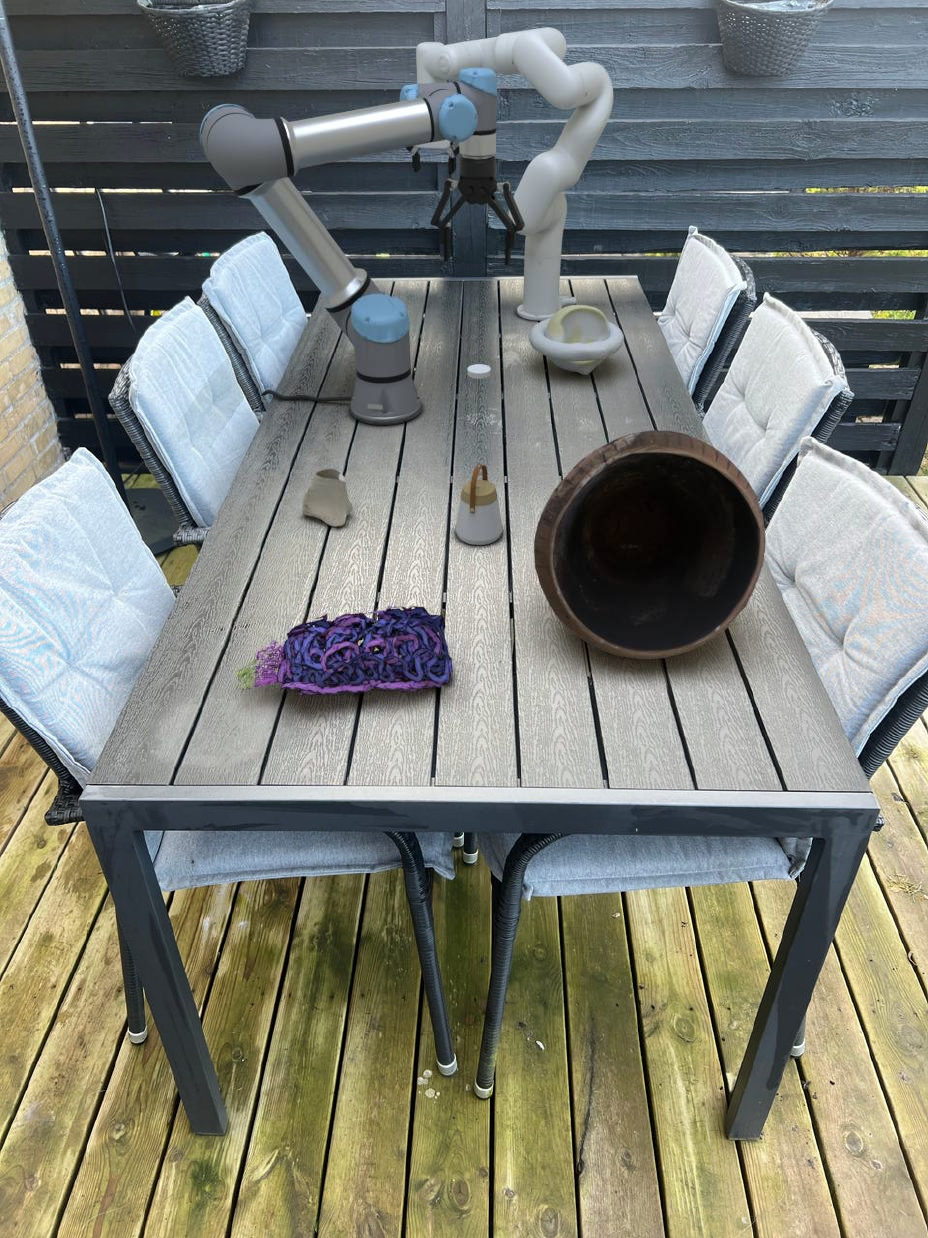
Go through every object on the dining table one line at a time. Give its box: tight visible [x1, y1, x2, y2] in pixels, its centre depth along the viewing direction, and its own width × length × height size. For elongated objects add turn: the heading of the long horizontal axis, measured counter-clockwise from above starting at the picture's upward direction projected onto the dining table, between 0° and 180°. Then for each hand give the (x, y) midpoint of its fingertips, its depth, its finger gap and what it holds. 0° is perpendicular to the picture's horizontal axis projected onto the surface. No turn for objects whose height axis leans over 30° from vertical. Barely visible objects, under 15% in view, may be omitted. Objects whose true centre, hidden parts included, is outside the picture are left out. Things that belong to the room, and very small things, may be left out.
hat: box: [528, 304, 625, 376], centre depth 215 cm, size 25×22×15 cm
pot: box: [533, 429, 767, 660], centre depth 139 cm, size 32×32×30 cm
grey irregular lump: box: [301, 468, 353, 528], centre depth 164 cm, size 9×8×10 cm
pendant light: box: [455, 363, 503, 546], centre depth 153 cm, size 8×8×30 cm
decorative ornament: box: [235, 605, 454, 697], centre depth 129 cm, size 13×11×30 cm
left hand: (477, 261), depth 204 cm, fingers open, 13 cm apart
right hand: (434, 172), depth 247 cm, fingers open, 9 cm apart
